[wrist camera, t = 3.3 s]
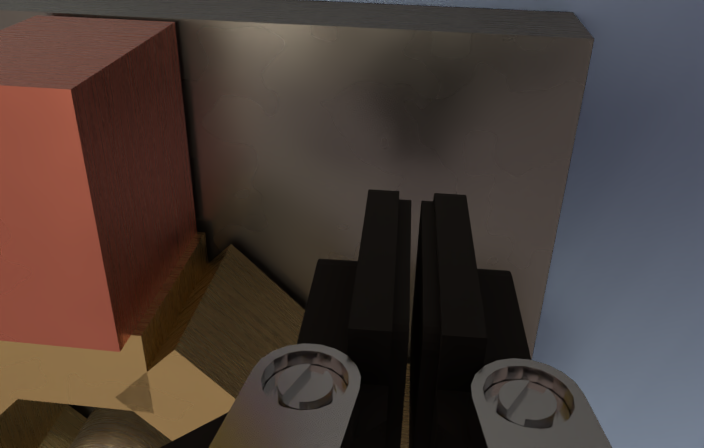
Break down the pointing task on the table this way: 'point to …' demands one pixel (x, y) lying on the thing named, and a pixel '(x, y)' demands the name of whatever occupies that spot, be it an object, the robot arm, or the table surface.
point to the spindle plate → (361, 133)
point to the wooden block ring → (114, 243)
